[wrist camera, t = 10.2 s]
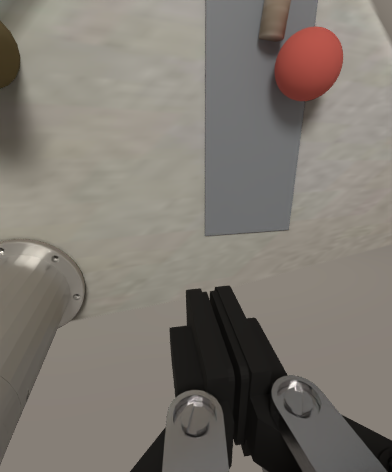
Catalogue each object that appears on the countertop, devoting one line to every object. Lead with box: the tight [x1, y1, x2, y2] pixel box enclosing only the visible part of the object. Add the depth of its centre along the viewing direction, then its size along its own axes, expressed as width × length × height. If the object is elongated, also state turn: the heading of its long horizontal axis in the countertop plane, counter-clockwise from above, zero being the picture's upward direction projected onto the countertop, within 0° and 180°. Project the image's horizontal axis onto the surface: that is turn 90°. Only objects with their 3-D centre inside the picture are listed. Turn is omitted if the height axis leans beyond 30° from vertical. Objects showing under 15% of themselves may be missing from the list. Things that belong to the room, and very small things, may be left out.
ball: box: [275, 27, 343, 101], centre depth 27 cm, size 6×6×6 cm
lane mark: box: [205, 0, 318, 236], centre depth 31 cm, size 24×11×1 cm, turn 1°
